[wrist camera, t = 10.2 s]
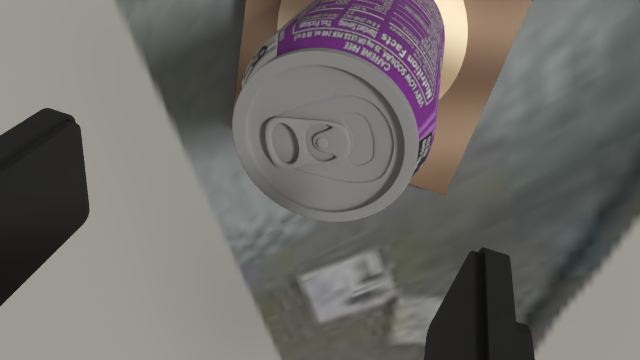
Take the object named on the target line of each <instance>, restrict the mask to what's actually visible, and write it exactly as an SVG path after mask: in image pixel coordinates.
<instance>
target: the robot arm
mask: <svg viewBox="0 0 640 360" xmlns="http://www.w3.org/2000/svg"><path fill="white" fill-rule="evenodd" d="M88 215H89V200H88V191H87V183H86V173H85V165H84V156H83V147H82V138H81V129H80V126H79V125H78V124H76V122H75V119H74V118H73V117H72V116H71V115H68V114H66V113H62V112H59V111H56V110H53V109H50V108H45V109H42V110H40V111H39V112H37V113H35V114H34V115H32V116H31V117H29V118H27V119H26V120H24V121H23V122H22V123H20V124H18V125H16V126H15V127H13V128H12V129H10V130H8V131H7V132H5V133H4V134H2V135H0V306H1V305H2V304H3V303H4V302H5V301H6V300H7V299H8V298H9V297H10V296H11V295H12V294H13V293H14V292H15V291H16V290H17V289H18V288H19V287H20V286H21V285H22V284H23V283H24V282H25V281H26V280H27V279H28V278H29V277H30V276H31V275H32V274H33V273H34V272H35V271H36V270H37V269H38V268H39V267H40V266H41V265H42V264H43V263H44V262H45V261H46V260H47V259H48V258H49V257H50V256H51V255H52V254H53V253H54V252H55V251H56V250H57V249H58V248H59V247H60V246H62V245H63V244H64V242H66V240H68V238H70V236H72V235H73V233H75V232H76V231H77V230H78V229H79V228H80V227H81V226H82V225H83V224H84V222H85V221H86V219H87V217H88ZM424 360H535V358H534V349H533V341H532V335H531V331H530V329H529V327H528V326H527V325H524V324H521V323H518V322H516V316H515V305H514V294H513V283H512V273H511V262H510V257H509V256H508V255H506V254H503V253H499V252H496V251H493V250H490V249H487V248H481V249H480V250H479V252H475V251H471V252H470V253H469V254H468V256H467V258H466V259H465V261H464V263H463V265H462V267H461V269H460V271H459V272H458V274H457V276H456V278H455V280H454V282H453V283H452V285H451V287H450V289H449V291H448V293H447V294H446V296H445V298H444V300H443V302H442V304H441V306H440V307H439V309H438V311H437V313H436V315H435V317H434V318H433V320H432V322H431V324H430V326H429V329H428V333H427V337H426V346H425V357H424Z"/></svg>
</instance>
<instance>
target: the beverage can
mask: <svg viewBox="0 0 640 360" xmlns="http://www.w3.org/2000/svg"><path fill="white" fill-rule="evenodd" d="M444 46H445V31H444V24H443V20H442V16H441V14H440V11H439V9H438V7H437V5H436V3H435V1H434V0H311V1H310V2H309V3H308V4H307V5H306V6H305V7H304V8H303V9H301V10H300V11H299V12H298V13H297V14H296V15H295V16H294V17H293V18H292V19H290V20H289V21H288V22H287V23H286V24H285V25H284V26H283V27H282V28H281V29H279V30H278V31H277V32H276V33H275V34H274V35H273V36H272V37H271V38H270V39H268V40H267V41H266V42H265V43H264V44H263V45H262V46H261V48H260V49H259V50H258V51H257V53H256V54H255V55H254V57H253V58H252V60H251V62H250V63H249V65H248V67H247V69H246V72H245V74H244V77H243V80H242V84H241V89H240V94H239V96H238V99H237V101H236V104H235V108H234V112H233V119H232V133H233V140H234V145H235V149H236V152H237V155H238V157H239V160H240V162H241V164H242V166H243V168H244V169H245V171H246V173H247V174H248V176H249V177H250V178H251V180H252V181H253V182H254V183H255V185H256V186H257V187H258V188H259V189H260V190H261V191H262V192H263V193H264V194H265V195H267V196H268V197H269V198H270V199H272V200H273V201H274V202H276V203H277V204H279V205H280V206H282V207H284V208H286V209H287V210H290V211H292V212H294V213H296V214H299V215H301V216H304V217H308V218H311V219H316V220H322V221H332V222H340V221H351V220H356V219H361V218H364V217H367V216H370V215H372V214H375V213H377V212H379V211H380V210H382V209H384V208H385V207H387V206H388V205H390V204H391V203H392V202H393V201H394V200H395V199H397V198H398V196H399V195H400V194H401V193H402V192H403V191H404V189H405V188H406V186H407V185H408V183H409V181H410V179H411V178H412V177H413V176H414V175H415V174H416V173H417V172H418V170H419V169H420V168H421V166H422V165H423V163H424V162H425V160H426V158H427V156H428V154H429V152H430V149H431V146H432V143H433V140H434V136H435V131H436V122H437V113H438V103H439V94H440V84H441V75H442V65H443V55H444Z"/></svg>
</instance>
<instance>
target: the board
mask: <svg viewBox="0 0 640 360" xmlns="http://www.w3.org/2000/svg"><path fill="white" fill-rule="evenodd" d="M310 1H311V0H246V5H245V14H244V22H243V31H242V39H241V48H240V56H239V65H238V73H237V82H236V90H235V99H234V107H233V112H234V108H235V104H236V101H237V99H238V96H239V94H240V89H241V84H242V80H243V77H244V74H245V72H246V69H247V67H248V65H249V63H250V62H251V60H252V58H253V57H254V55H255V54H256V53H257V51H258V50H259V49H260V48H261V46H262V45H263V44H264V43H265V42H266V41H267V40H268V39H270V38H271V37H272V36H273V35H274V34H275V33H276V32H277V31H278V30H279V29H281V28H282V27H283V26H284V25H285V24H286V23H287V22H288V21H289V20H290V19H292V18H293V17H294V16H295V15H296V14H297V13H298V12H299V11H300V10H301V9H303V8H304V7H305V6H306V5H307V4H308V3H309V2H310ZM434 1H435V3H436V5H437V7H438V9H439V11H440V14H441V16H442V20H443V24H444V31H445V46H444V55H443V65H442V75H441V84H440V94H439V103H438V113H437V122H436V131H435V136H434V140H433V143H432V146H431V149H430V152H429V154H428V156H427V158H426V160H425V162H424V163H423V165H422V166H421V168H420V169H419V170H418V172H417V173H416V174H415V175H414V176H413V177H412V178H411V179H410V181H409V183H408V184H411V185H414V186H418V187H421V188H424V189H427V190H430V191H434V192H437V193H440V194H443V195H446V192H447V190H448V188H449V186H450V183H451V181H452V179H453V177H454V174H455V172H456V170H457V168H458V165H459V163H460V161H461V159H462V156H463V154H464V152H465V150H466V147H467V145H468V143H469V141H470V138H471V136H472V134H473V132H474V130H475V127H476V125H477V123H478V121H479V118H480V116H481V114H482V112H483V109H484V107H485V105H486V103H487V100H488V98H489V96H490V94H491V91H492V89H493V87H494V85H495V82H496V80H497V78H498V76H499V73H500V71H501V69H502V67H503V64H504V62H505V60H506V58H507V55H508V53H509V51H510V49H511V46H512V44H513V42H514V40H515V38H516V35H517V33H518V31H519V29H520V26H521V24H522V22H523V20H524V17H525V15H526V13H527V11H528V8H529V6H530V4H531V2H532V0H434ZM232 119H233V116H232ZM231 128H232V124H231Z"/></svg>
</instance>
